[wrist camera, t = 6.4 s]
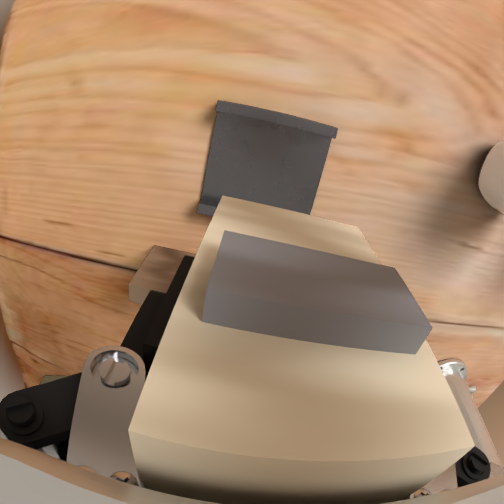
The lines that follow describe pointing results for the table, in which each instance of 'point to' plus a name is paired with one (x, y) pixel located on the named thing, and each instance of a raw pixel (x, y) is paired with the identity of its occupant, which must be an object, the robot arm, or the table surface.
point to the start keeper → (264, 158)
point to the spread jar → (493, 177)
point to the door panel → (155, 272)
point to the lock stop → (293, 372)
